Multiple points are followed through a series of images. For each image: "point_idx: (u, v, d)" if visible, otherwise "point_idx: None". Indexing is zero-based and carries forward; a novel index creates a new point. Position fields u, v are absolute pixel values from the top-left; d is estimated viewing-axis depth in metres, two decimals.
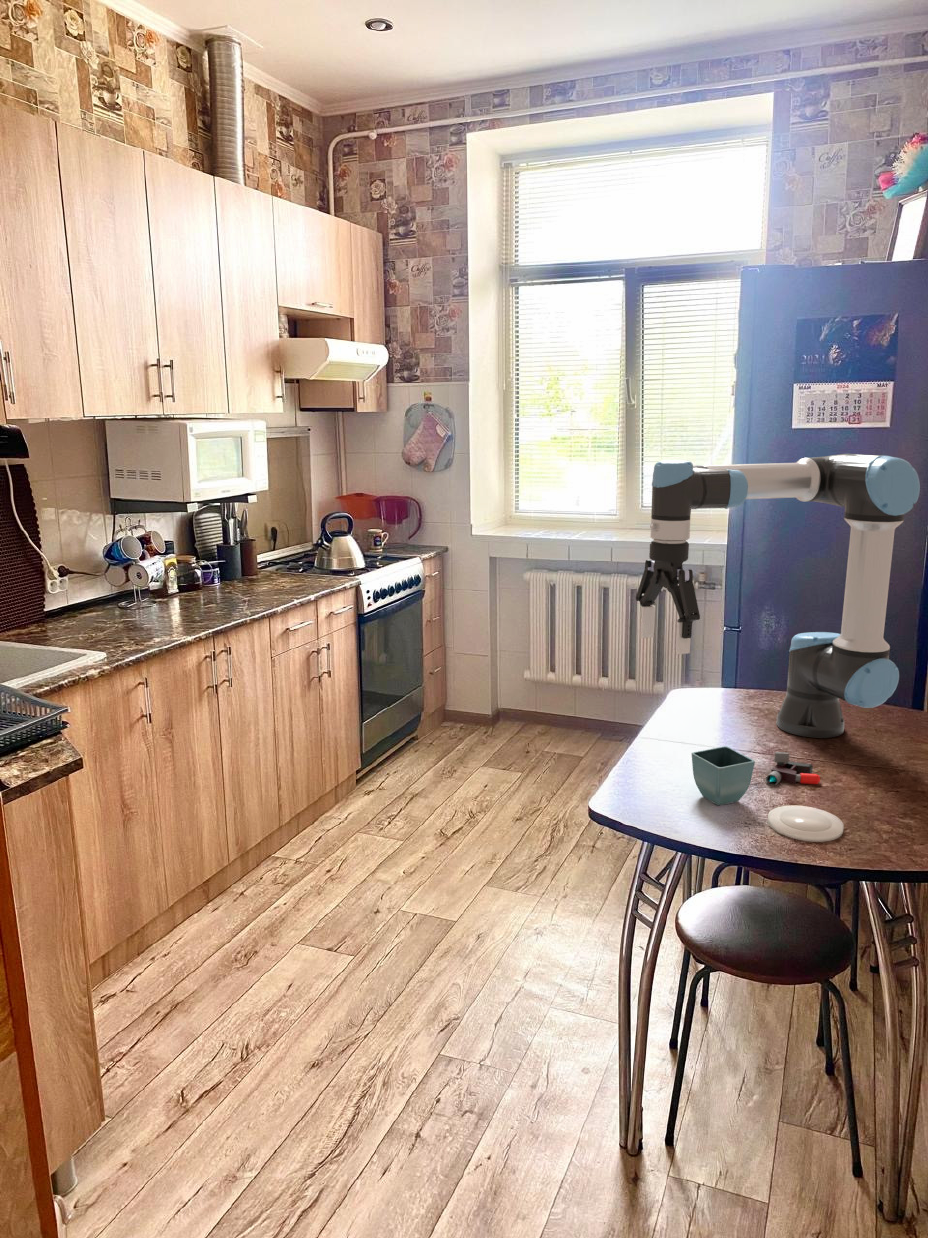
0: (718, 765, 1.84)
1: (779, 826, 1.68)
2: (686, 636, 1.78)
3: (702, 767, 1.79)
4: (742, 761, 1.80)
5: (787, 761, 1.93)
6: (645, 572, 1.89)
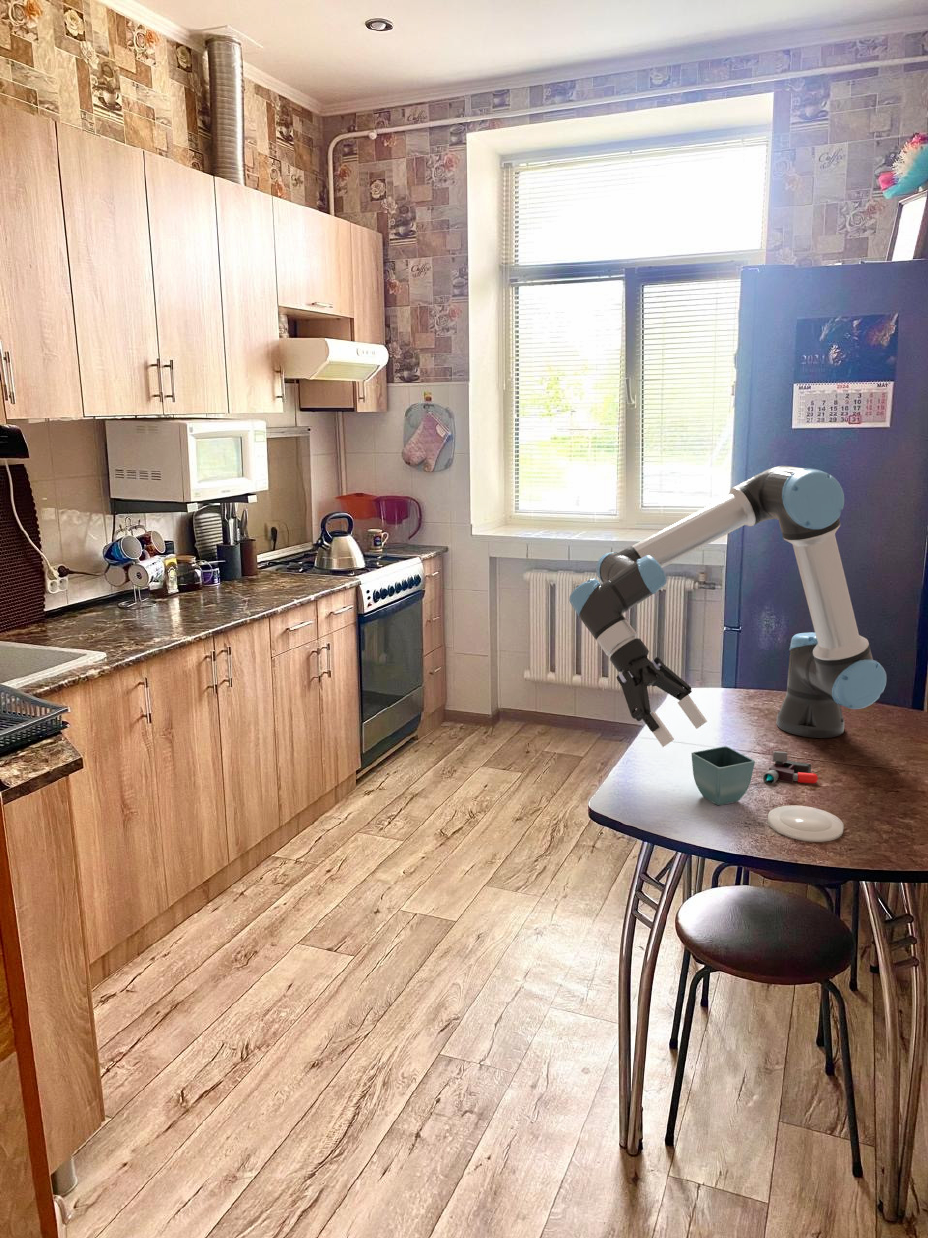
0: (718, 765, 1.84)
1: (779, 826, 1.68)
2: (652, 729, 1.78)
3: (701, 767, 1.79)
4: (742, 761, 1.80)
5: (785, 760, 1.94)
6: None
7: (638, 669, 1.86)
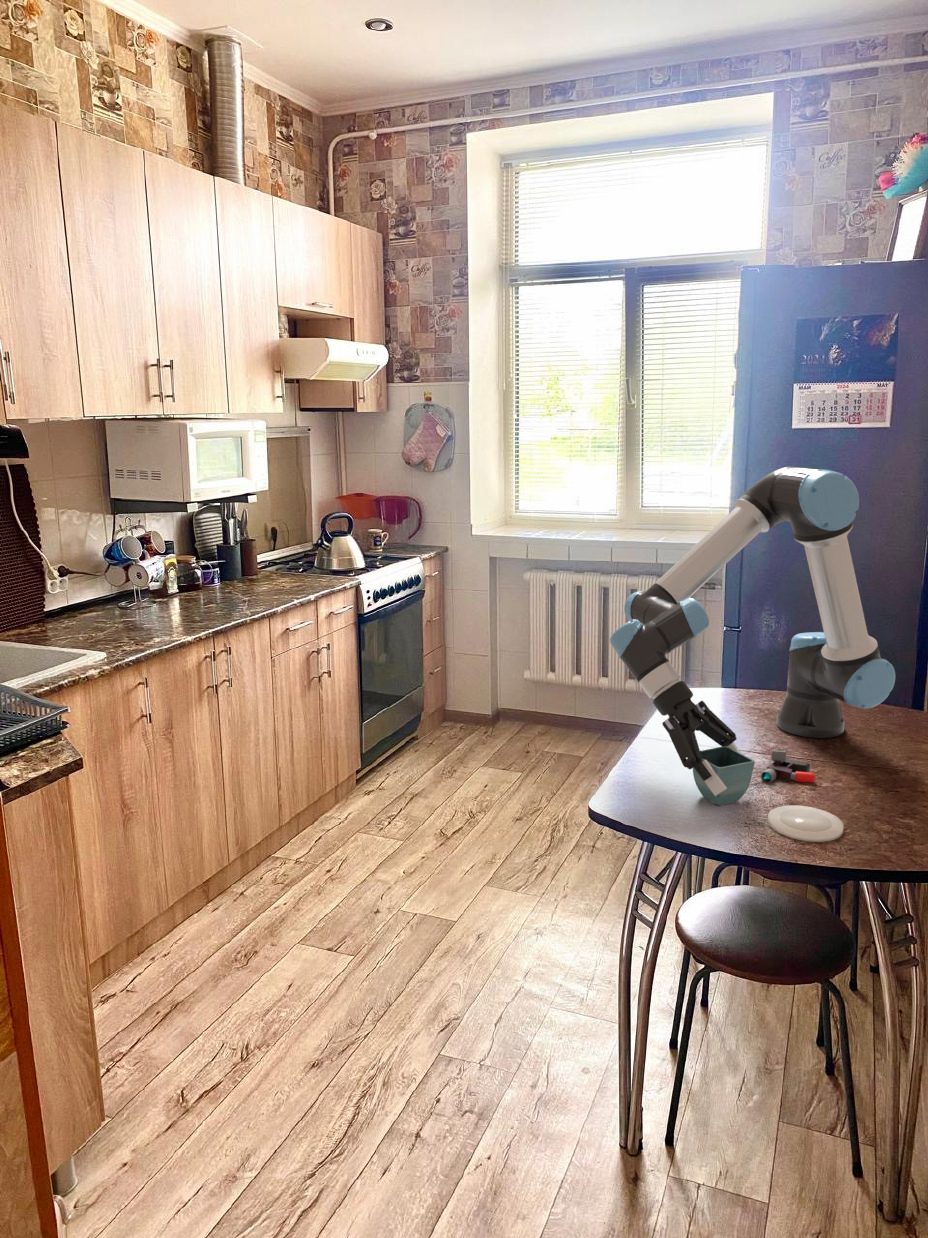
0: (718, 765, 1.84)
1: (779, 826, 1.68)
2: (704, 778, 1.75)
3: None
4: (742, 761, 1.80)
5: (784, 759, 1.94)
6: None
7: (682, 712, 1.81)
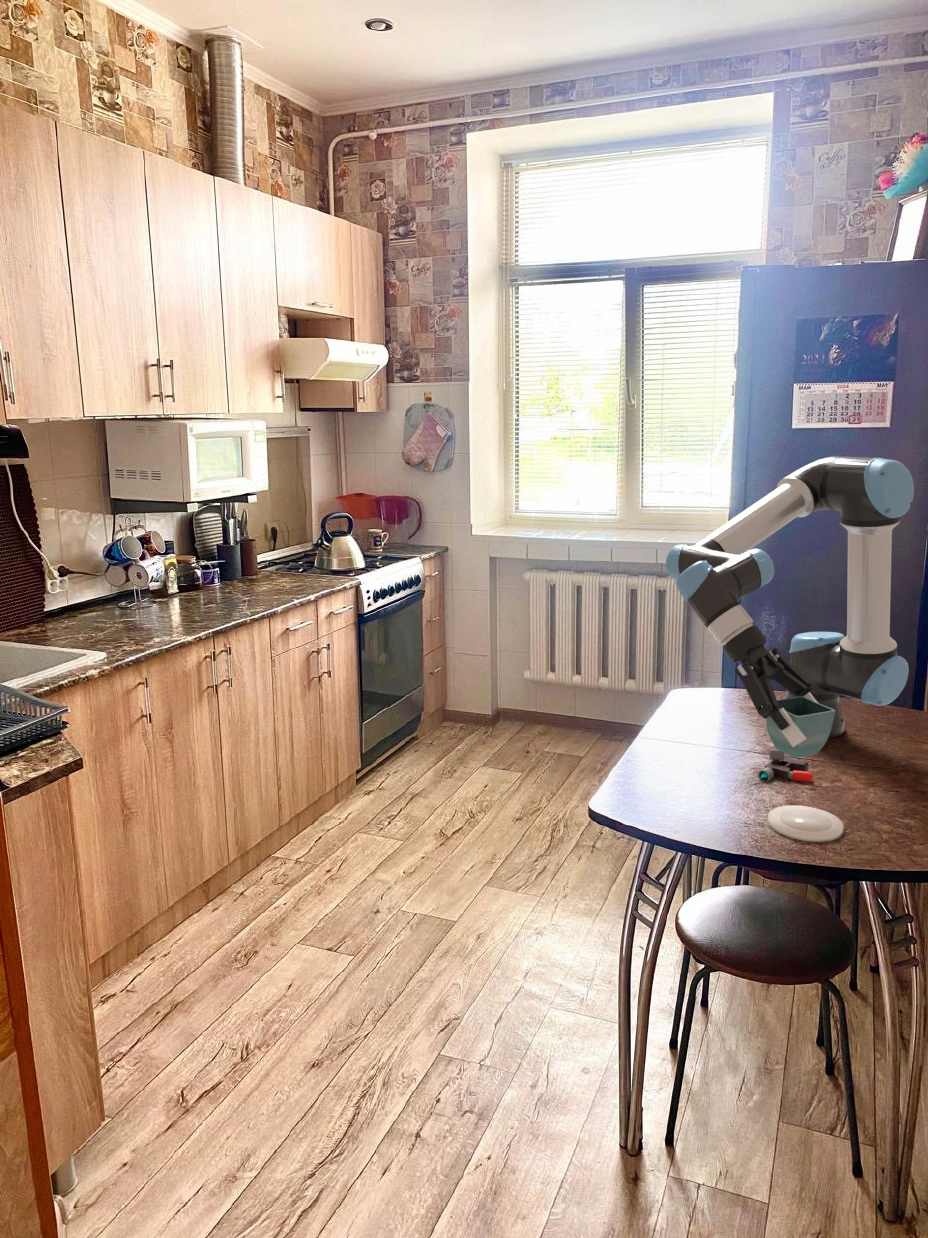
0: None
1: (779, 826, 1.68)
2: (781, 728, 1.62)
3: None
4: (820, 711, 1.67)
5: (782, 758, 1.95)
6: None
7: (756, 659, 1.68)
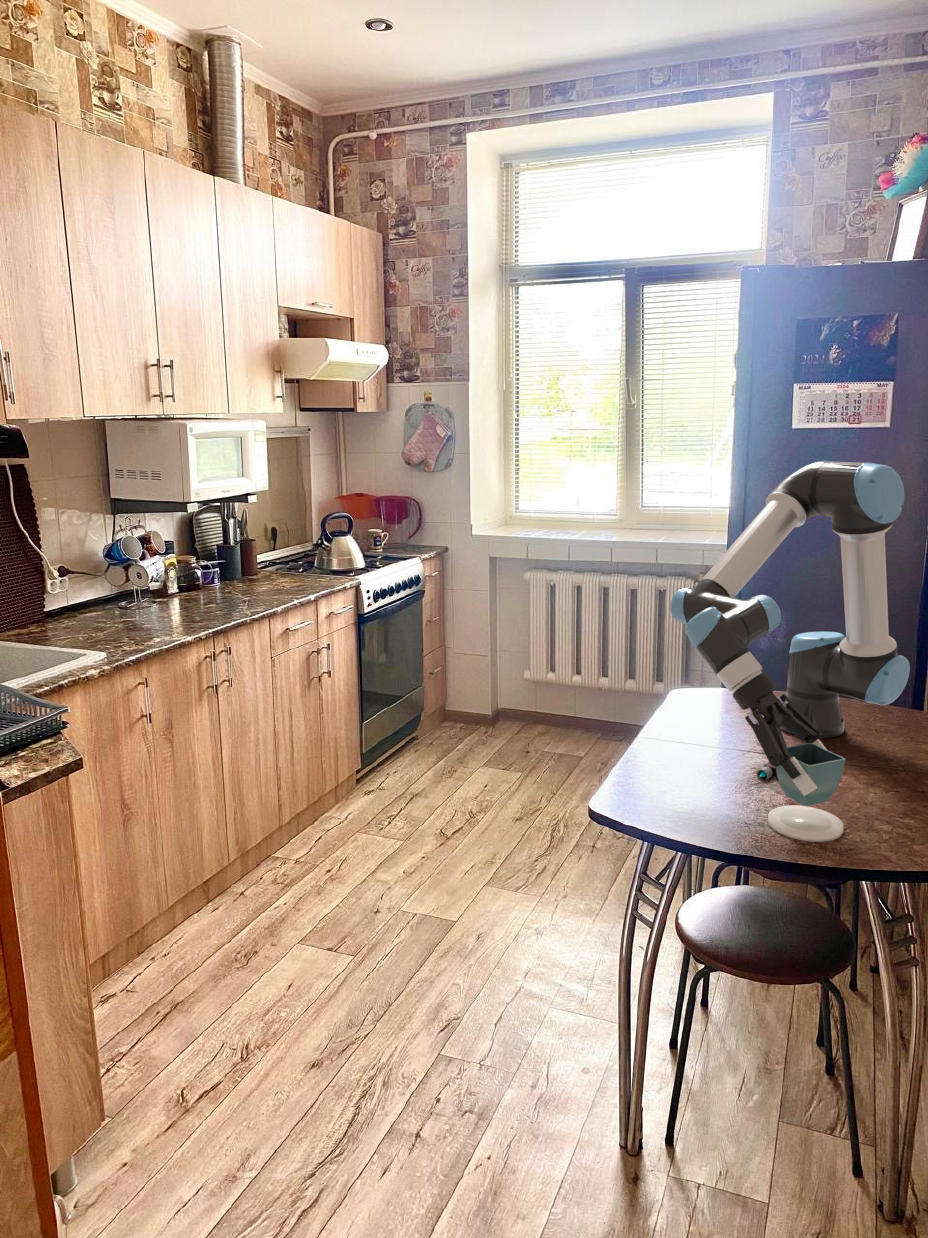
0: (802, 763, 1.72)
1: (779, 826, 1.68)
2: (792, 777, 1.62)
3: None
4: (830, 759, 1.68)
5: None
6: None
7: (766, 706, 1.69)
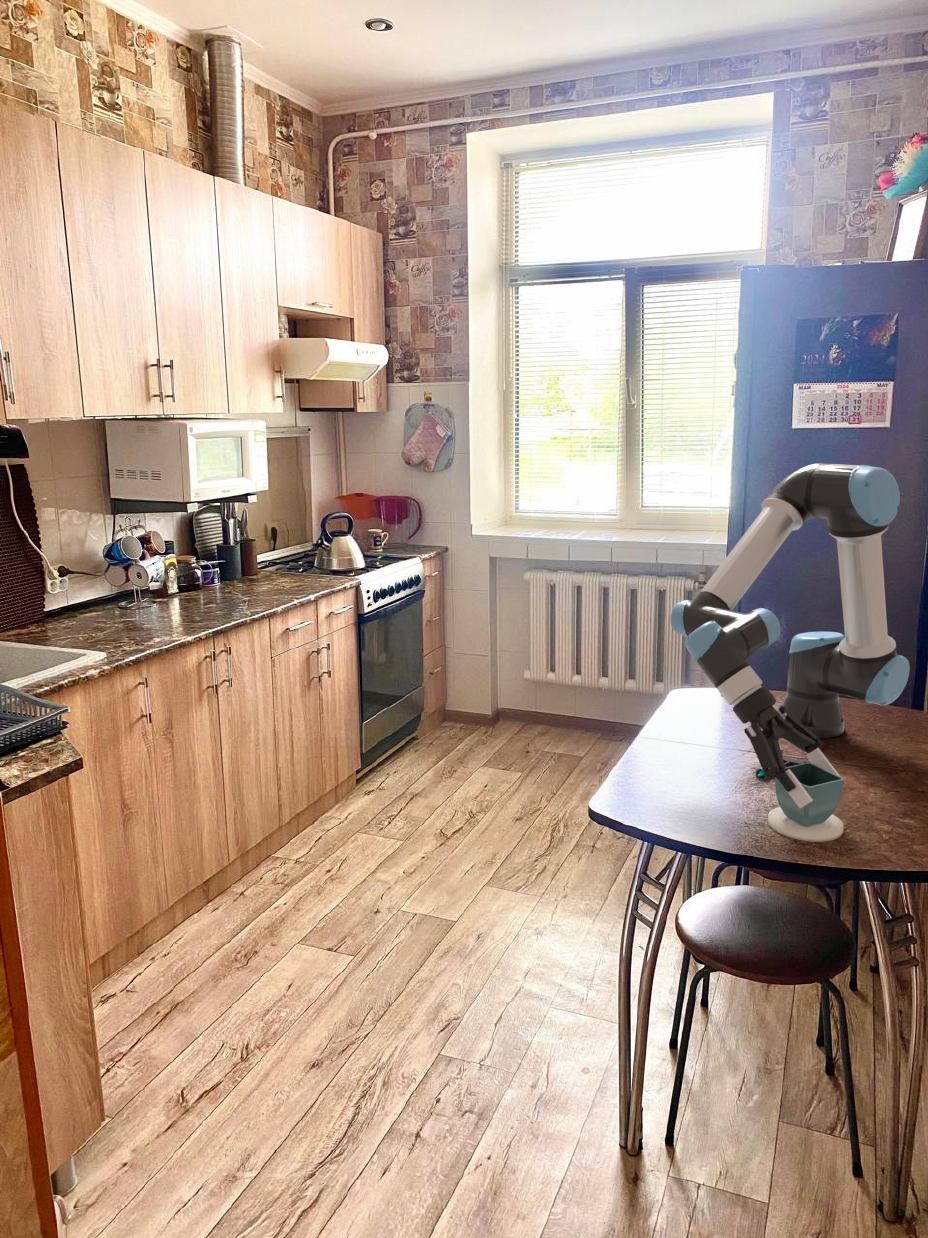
0: (801, 783, 1.73)
1: (779, 826, 1.68)
2: (787, 789, 1.62)
3: None
4: (829, 779, 1.69)
5: None
6: None
7: (766, 721, 1.69)
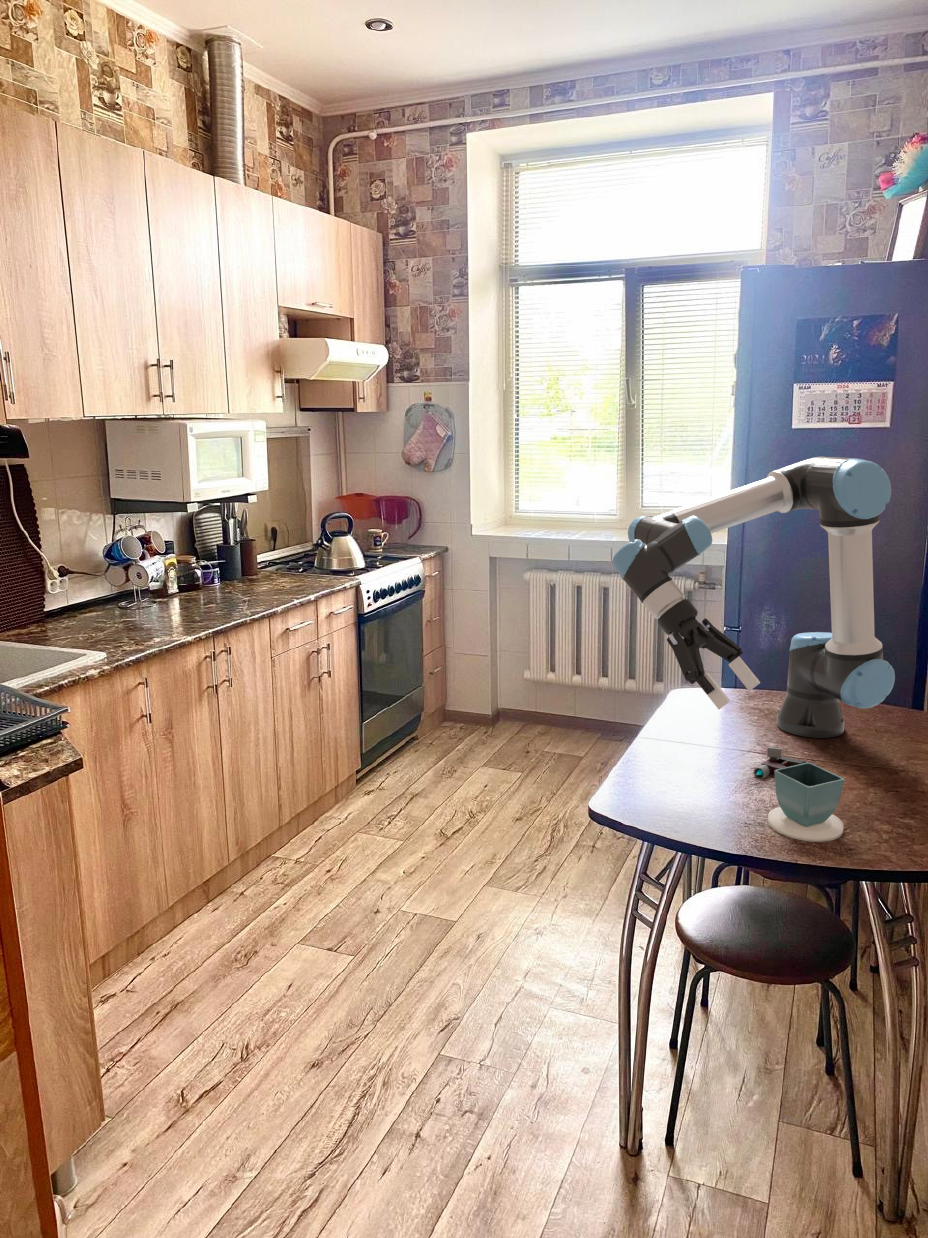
0: (801, 783, 1.73)
1: (779, 826, 1.68)
2: (707, 692, 1.72)
3: (787, 785, 1.67)
4: (829, 779, 1.69)
5: (779, 756, 1.96)
6: None
7: (688, 631, 1.79)
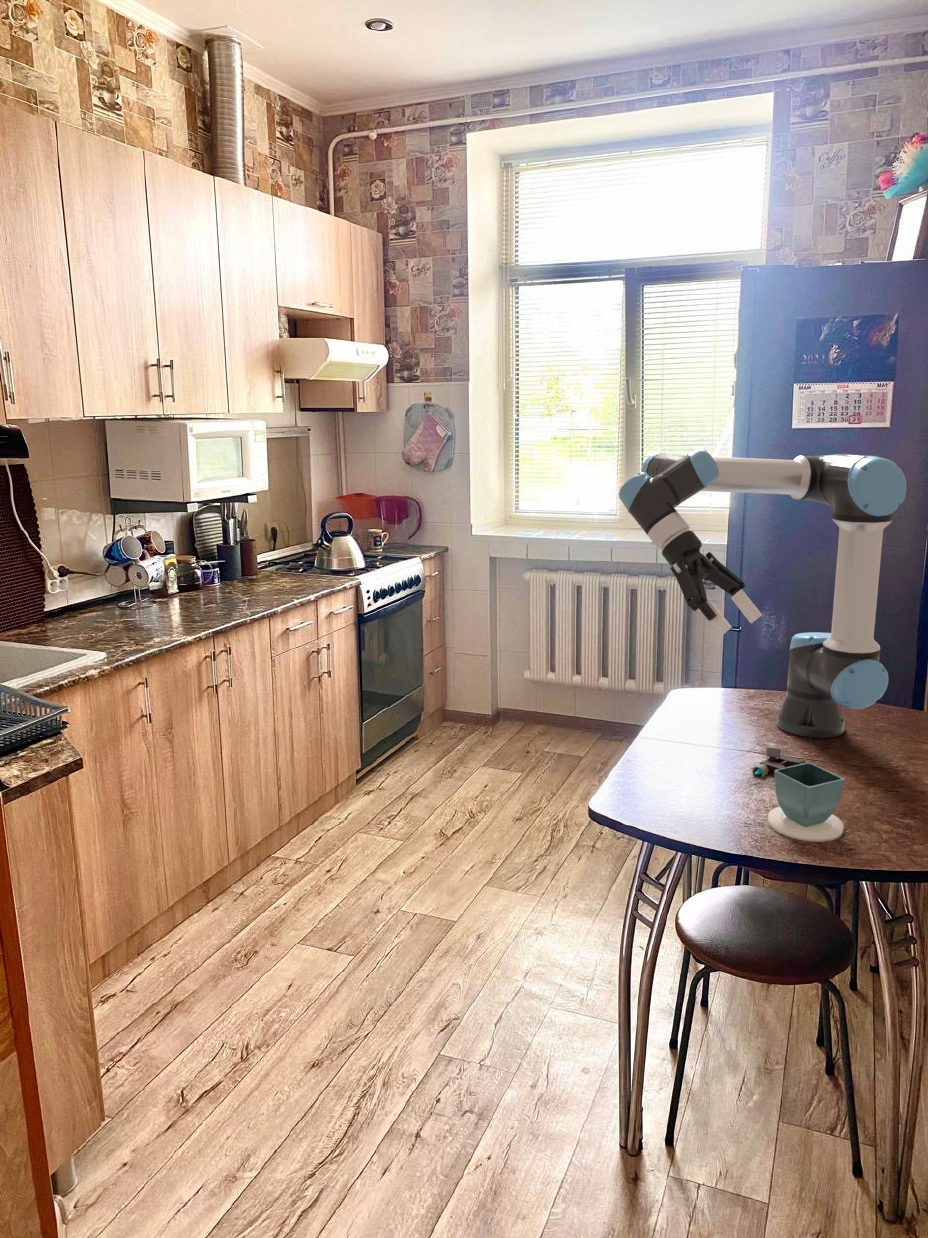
0: (801, 783, 1.73)
1: (779, 826, 1.68)
2: (708, 618, 1.74)
3: (787, 785, 1.67)
4: (829, 779, 1.69)
5: (779, 756, 1.96)
6: None
7: (692, 561, 1.81)
